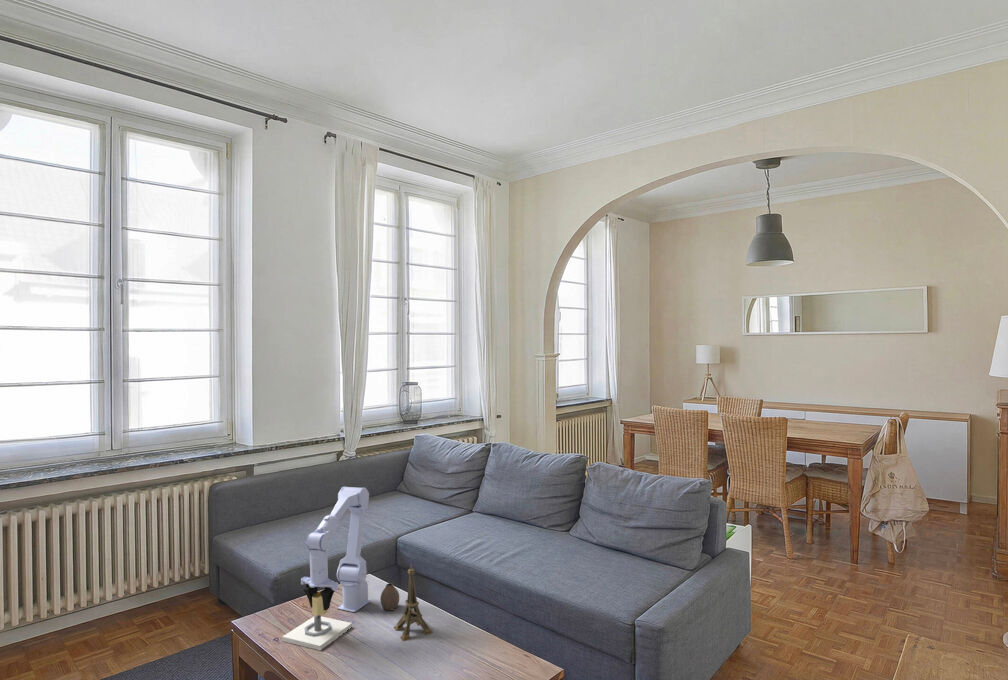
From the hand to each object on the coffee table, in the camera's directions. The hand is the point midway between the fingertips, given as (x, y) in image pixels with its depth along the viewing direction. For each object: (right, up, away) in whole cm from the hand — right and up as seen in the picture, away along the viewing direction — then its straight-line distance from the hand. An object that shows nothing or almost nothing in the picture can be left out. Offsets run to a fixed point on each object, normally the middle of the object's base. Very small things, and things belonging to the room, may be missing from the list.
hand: (320, 607), depth 201 cm
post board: (-1, -9, 0) cm, 9 cm away
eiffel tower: (+31, -8, +1) cm, 33 cm away
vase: (+20, -8, +18) cm, 28 cm away
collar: (0, -1, 0) cm, 1 cm away
